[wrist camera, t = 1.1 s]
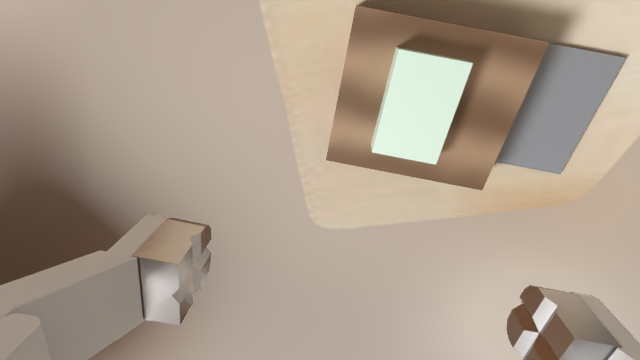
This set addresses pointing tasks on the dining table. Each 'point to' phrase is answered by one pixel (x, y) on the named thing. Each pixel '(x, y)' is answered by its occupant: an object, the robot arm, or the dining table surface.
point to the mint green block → (419, 105)
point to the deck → (473, 108)
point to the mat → (558, 107)
